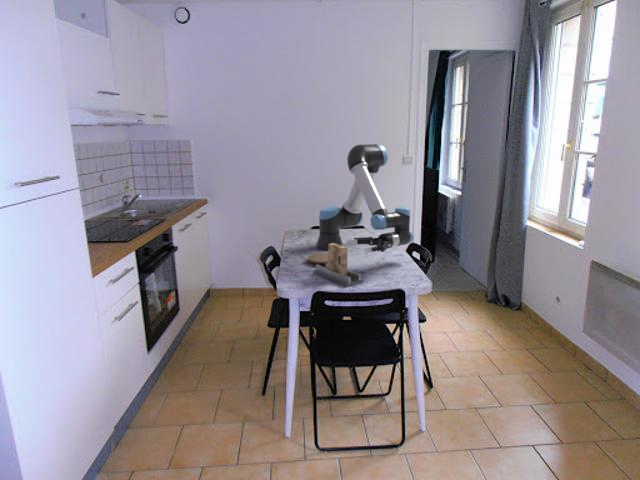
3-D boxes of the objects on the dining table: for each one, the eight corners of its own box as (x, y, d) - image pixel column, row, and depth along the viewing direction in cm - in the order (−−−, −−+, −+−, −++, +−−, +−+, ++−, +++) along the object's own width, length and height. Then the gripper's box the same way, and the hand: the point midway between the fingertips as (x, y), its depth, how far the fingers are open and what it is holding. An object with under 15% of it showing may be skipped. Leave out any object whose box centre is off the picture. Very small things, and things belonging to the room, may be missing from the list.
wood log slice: (337, 258, 240) (337, 253, 240) (338, 267, 225) (338, 261, 224) (307, 258, 240) (307, 253, 240) (307, 267, 225) (307, 262, 224)
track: (313, 273, 214) (313, 265, 213) (329, 269, 220) (329, 261, 219) (346, 287, 196) (346, 278, 195) (363, 282, 202) (363, 274, 201)
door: (327, 272, 211) (327, 244, 207) (333, 271, 213) (333, 242, 209) (341, 278, 203) (341, 248, 199) (347, 276, 205) (347, 247, 201)
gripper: (406, 253, 215) (374, 261, 203) (370, 242, 234) (339, 248, 222) (407, 238, 213) (374, 245, 201) (371, 228, 232) (339, 234, 220)
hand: (355, 247), depth 211 cm, fingers open, 13 cm apart
